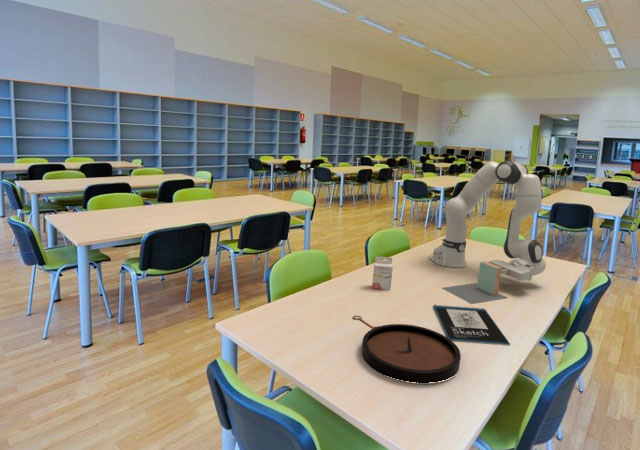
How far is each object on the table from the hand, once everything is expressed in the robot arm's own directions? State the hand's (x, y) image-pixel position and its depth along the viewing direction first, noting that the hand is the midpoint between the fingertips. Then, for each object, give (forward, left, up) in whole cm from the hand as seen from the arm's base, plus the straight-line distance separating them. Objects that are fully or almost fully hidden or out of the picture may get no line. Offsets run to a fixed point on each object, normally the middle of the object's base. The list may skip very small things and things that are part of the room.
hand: (496, 271), depth 196 cm
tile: (0, -4, -9) cm, 10 cm away
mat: (0, -12, -10) cm, 16 cm away
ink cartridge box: (-20, -50, -10) cm, 55 cm away
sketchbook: (+24, -38, -11) cm, 46 cm away
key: (+11, -75, -11) cm, 77 cm away
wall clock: (+36, -74, -11) cm, 83 cm away
